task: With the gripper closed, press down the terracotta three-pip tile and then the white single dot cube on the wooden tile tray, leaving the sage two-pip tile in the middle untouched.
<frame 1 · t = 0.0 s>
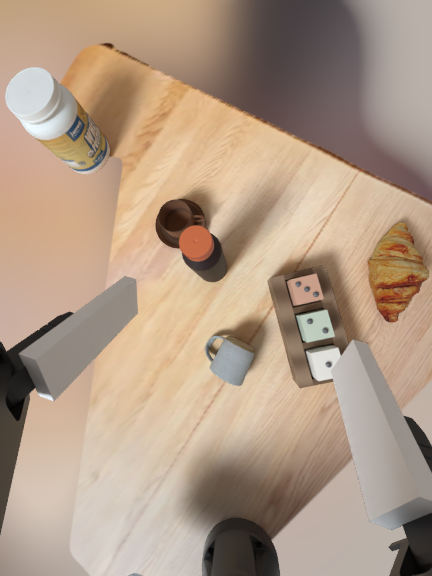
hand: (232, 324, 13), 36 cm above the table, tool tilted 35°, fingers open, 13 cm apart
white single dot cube: (324, 362, 40), point 6 cm above the table, slide at 0.0 cm
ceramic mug: (228, 353, 48), on the table
croissant: (388, 273, 46), on the table
three pip tile: (304, 290, 42), point 6 cm above the table, slide at 0.0 cm
cup and saucer: (182, 226, 53), on the table
wooden tile tray: (305, 323, 47), on the table
two pip tile: (314, 325, 41), point 6 cm above the table, slide at 0.0 cm
supplement tub: (91, 155, 57), on the table
bottle: (212, 268, 51), on the table
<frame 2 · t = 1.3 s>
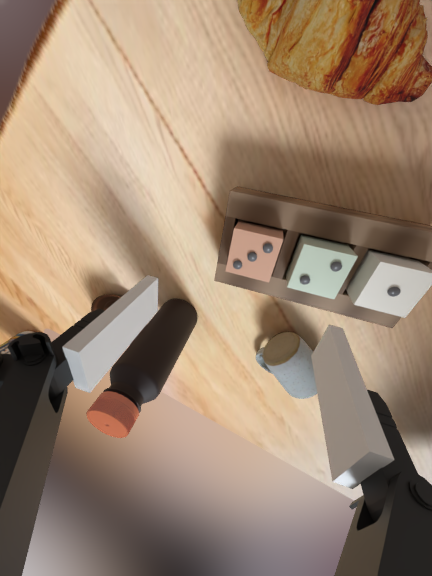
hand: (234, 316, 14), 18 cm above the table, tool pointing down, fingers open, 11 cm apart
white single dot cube: (386, 283, 22), point 6 cm above the table, slide at 0.0 cm
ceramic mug: (285, 349, 38), on the table
croissant: (321, 17, 19), on the table
three pip tile: (253, 251, 24), point 6 cm above the table, slide at 0.0 cm
cup and saucer: (125, 315, 44), on the table
wooden tile tray: (310, 248, 28), on the table
two pip tile: (317, 266, 23), point 6 cm above the table, slide at 0.0 cm
bottle: (180, 312, 39), on the table
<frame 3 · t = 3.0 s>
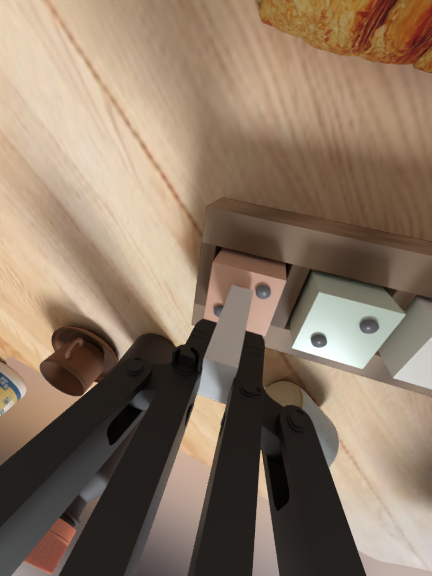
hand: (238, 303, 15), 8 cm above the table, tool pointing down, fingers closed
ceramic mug: (284, 397, 30), on the table
three pip tile: (243, 290, 17), point 5 cm above the table, slide at 0.4 cm, touching gripper
cup and saucer: (94, 348, 36), on the table
wooden tile tray: (322, 281, 20), on the table
two pip tile: (336, 318, 16), point 6 cm above the table, slide at 0.0 cm
supplement tub: (7, 374, 50), on the table
bottle: (158, 349, 32), on the table
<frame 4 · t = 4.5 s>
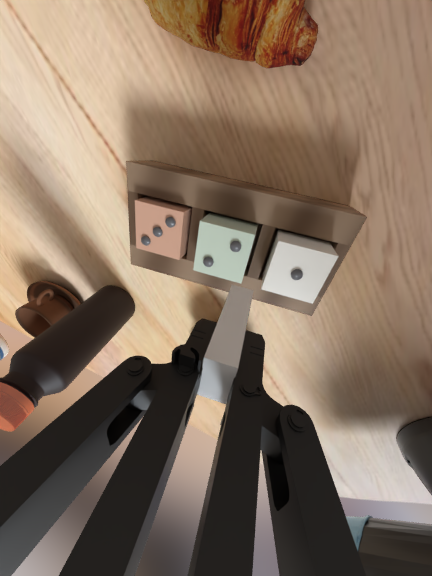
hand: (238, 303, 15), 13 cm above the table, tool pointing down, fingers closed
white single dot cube: (295, 266, 21), point 6 cm above the table, slide at 0.0 cm
three pip tile: (165, 227, 23), point 5 cm above the table, slide at 1.3 cm
cup and saucer: (65, 304, 41), on the table
wooden tile tray: (234, 231, 26), on the table
two pip tile: (225, 247, 21), point 6 cm above the table, slide at 0.0 cm
bottle: (119, 300, 37), on the table
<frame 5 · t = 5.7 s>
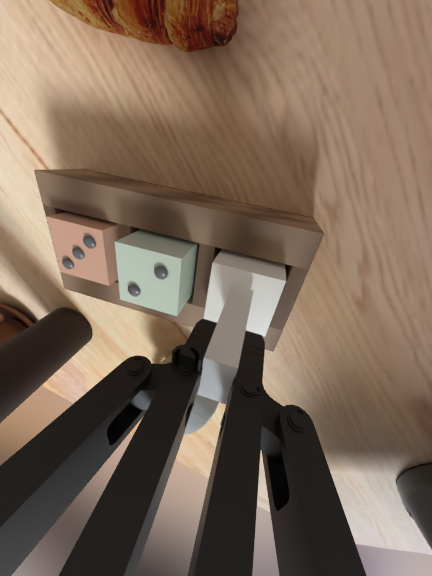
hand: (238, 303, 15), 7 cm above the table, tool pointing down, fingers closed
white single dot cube: (243, 290, 17), point 5 cm above the table, slide at 0.6 cm, touching gripper
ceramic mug: (187, 369, 32), on the table
three pip tile: (93, 246, 19), point 5 cm above the table, slide at 1.3 cm
cup and saucer: (24, 326, 38), on the table
wooden tile tray: (185, 248, 22), on the table
two pip tile: (158, 272, 17), point 6 cm above the table, slide at 0.0 cm
bottle: (75, 324, 34), on the table
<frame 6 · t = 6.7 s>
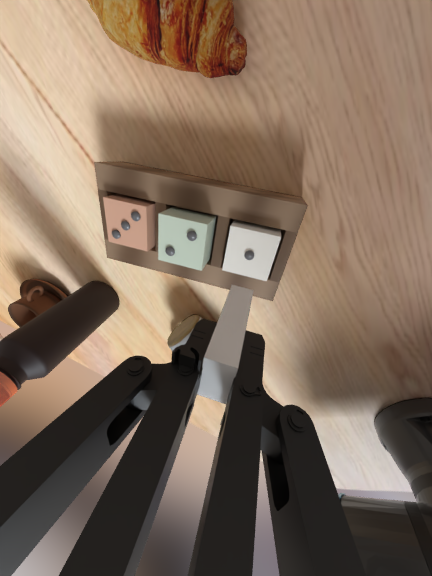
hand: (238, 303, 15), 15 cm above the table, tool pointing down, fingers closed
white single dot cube: (251, 249, 23), point 5 cm above the table, slide at 1.3 cm
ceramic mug: (199, 333, 39), on the table
three pip tile: (134, 221, 25), point 5 cm above the table, slide at 1.3 cm
cup and saucer: (56, 300, 44), on the table
wooden tile tray: (202, 225, 28), on the table
two pip tile: (186, 238, 23), point 6 cm above the table, slide at 0.0 cm
bottle: (104, 295, 39), on the table
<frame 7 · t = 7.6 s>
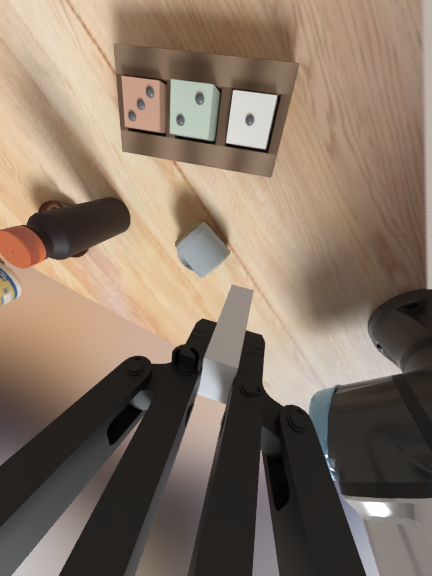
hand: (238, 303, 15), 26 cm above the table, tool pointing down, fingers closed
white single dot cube: (251, 122, 27), point 5 cm above the table, slide at 1.3 cm
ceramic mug: (204, 247, 42), on the table
three pip tile: (147, 107, 28), point 5 cm above the table, slide at 1.3 cm
cup and saucer: (71, 228, 47), on the table
wooden tile tray: (207, 120, 31), on the table
two pip tile: (194, 113, 26), point 6 cm above the table, slide at 0.0 cm
supplement tub: (6, 277, 61), on the table
bottle: (116, 215, 43), on the table
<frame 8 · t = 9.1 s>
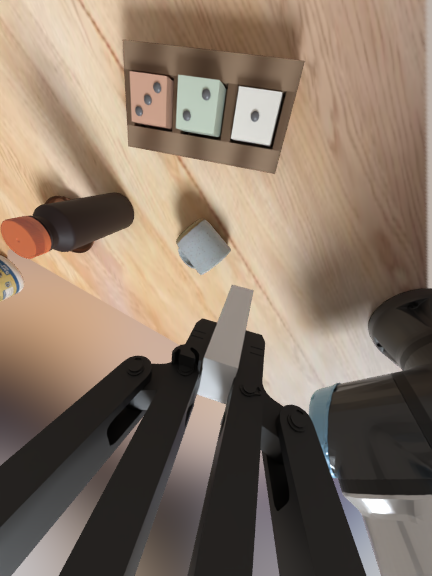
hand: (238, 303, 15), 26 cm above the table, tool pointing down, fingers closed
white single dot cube: (256, 119, 27), point 5 cm above the table, slide at 1.3 cm
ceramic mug: (204, 245, 42), on the table
three pip tile: (154, 103, 29), point 5 cm above the table, slide at 1.3 cm
cup and saucer: (76, 224, 48), on the table
wooden tile tray: (212, 117, 32), on the table
two pip tile: (200, 108, 27), point 6 cm above the table, slide at 0.0 cm
supplement tub: (8, 272, 61), on the table
bottle: (120, 210, 43), on the table
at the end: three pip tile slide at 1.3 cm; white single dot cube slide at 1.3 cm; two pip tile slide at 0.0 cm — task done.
